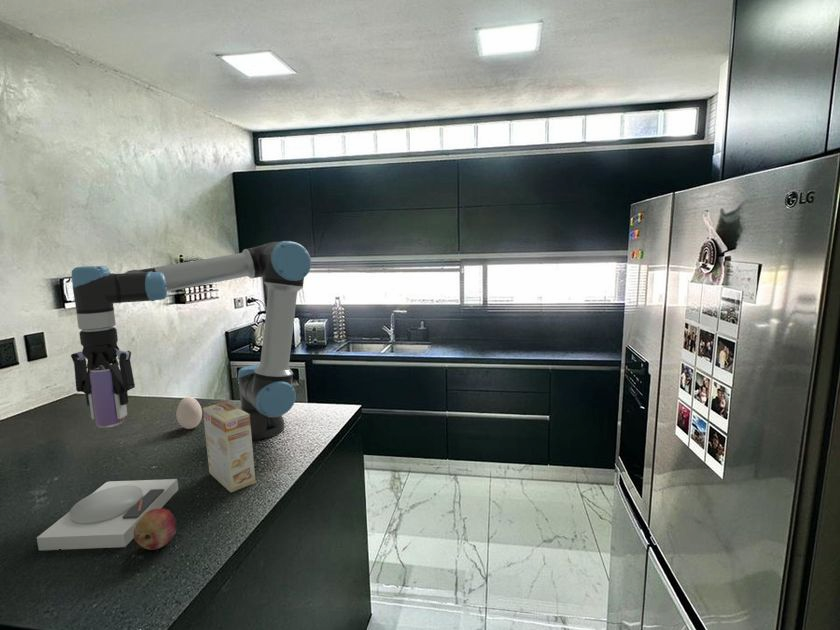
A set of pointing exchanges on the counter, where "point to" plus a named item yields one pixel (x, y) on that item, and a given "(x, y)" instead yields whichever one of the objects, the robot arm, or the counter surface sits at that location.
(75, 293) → the robot arm
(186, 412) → the egg
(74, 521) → the scale
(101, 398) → the beverage can
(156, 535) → the fruit
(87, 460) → the counter surface
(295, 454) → the counter surface
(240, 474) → the coffeecake box
